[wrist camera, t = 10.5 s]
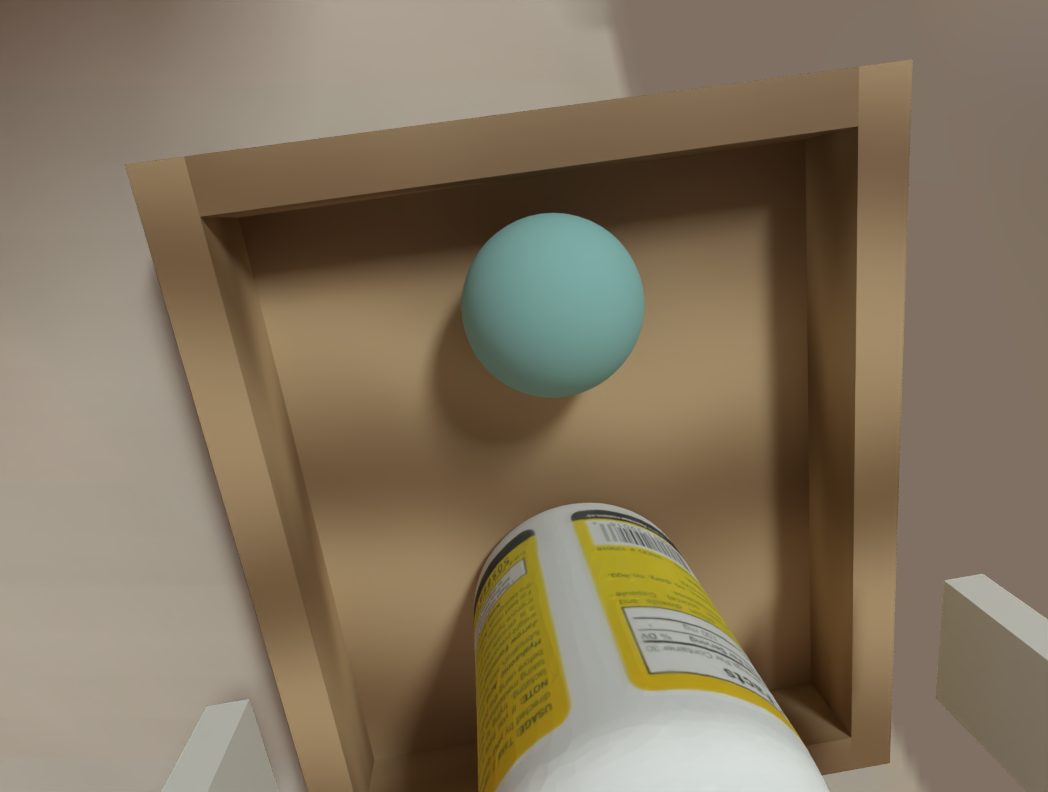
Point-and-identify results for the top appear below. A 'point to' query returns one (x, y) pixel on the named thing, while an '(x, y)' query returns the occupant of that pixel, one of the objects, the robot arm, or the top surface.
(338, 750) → the tray
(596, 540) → the supplement bottle
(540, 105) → the top surface
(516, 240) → the ball
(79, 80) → the top surface
